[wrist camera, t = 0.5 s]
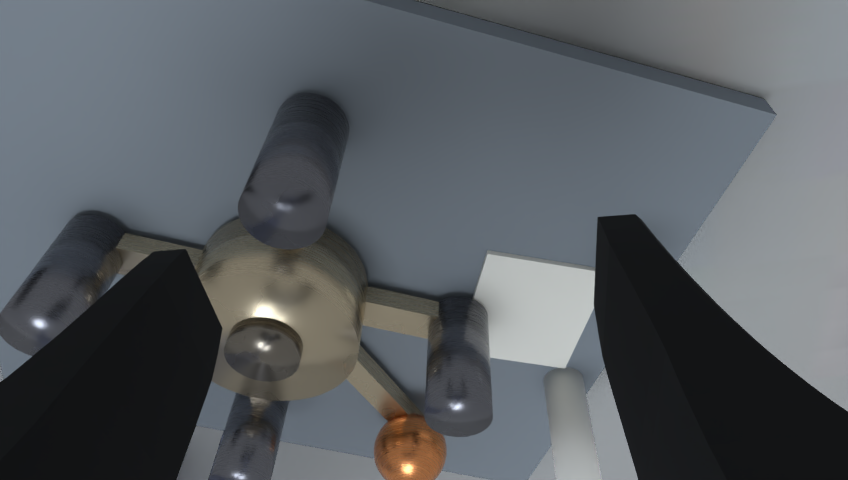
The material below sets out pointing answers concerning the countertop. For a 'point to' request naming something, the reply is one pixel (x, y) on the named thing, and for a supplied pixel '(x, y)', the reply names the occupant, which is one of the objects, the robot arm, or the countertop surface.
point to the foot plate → (359, 162)
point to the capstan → (286, 309)
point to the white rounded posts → (545, 343)
